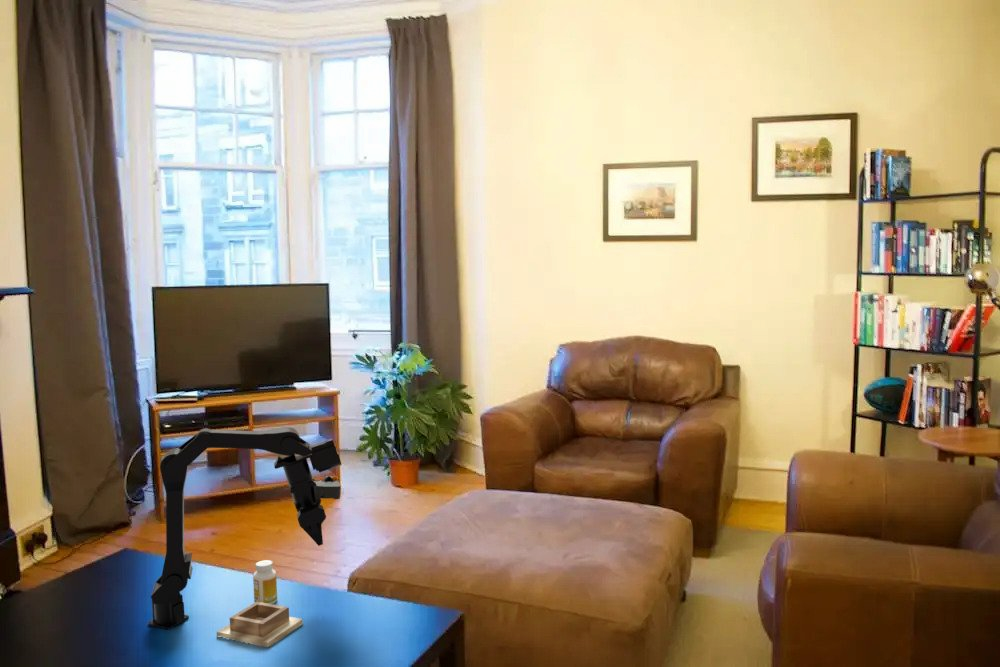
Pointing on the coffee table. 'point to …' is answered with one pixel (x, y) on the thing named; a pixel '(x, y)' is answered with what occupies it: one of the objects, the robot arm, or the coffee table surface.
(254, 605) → the collar board
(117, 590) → the coffee table surface
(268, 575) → the supplement bottle
